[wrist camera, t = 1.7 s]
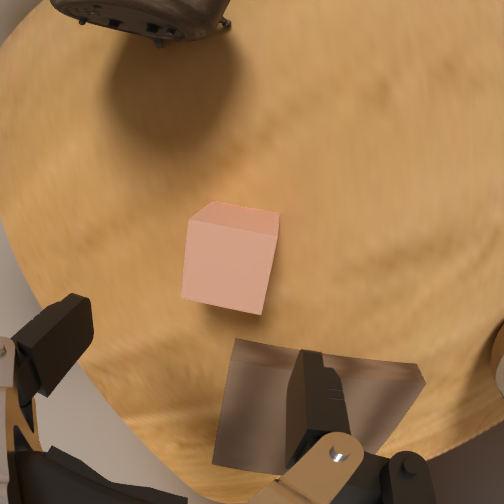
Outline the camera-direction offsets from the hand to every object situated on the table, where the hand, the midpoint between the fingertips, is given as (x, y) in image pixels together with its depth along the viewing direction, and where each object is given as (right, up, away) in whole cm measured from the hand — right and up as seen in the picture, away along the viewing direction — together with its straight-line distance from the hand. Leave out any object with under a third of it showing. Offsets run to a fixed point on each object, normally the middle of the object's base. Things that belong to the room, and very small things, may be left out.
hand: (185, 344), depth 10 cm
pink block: (+2, +4, +13) cm, 14 cm away
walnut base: (+8, -14, +18) cm, 25 cm away
